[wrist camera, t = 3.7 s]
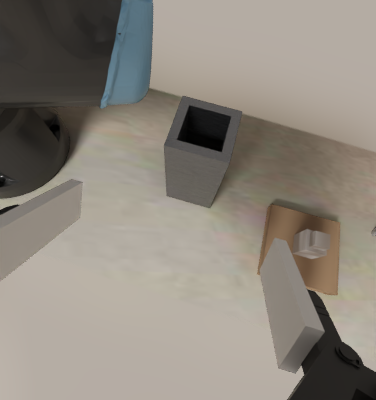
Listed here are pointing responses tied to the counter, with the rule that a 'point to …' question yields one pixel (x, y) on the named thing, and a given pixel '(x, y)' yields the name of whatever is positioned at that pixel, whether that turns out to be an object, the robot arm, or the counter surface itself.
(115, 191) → the counter surface
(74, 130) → the counter surface
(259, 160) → the counter surface
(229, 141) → the grey square tube
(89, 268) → the counter surface
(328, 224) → the drive block
